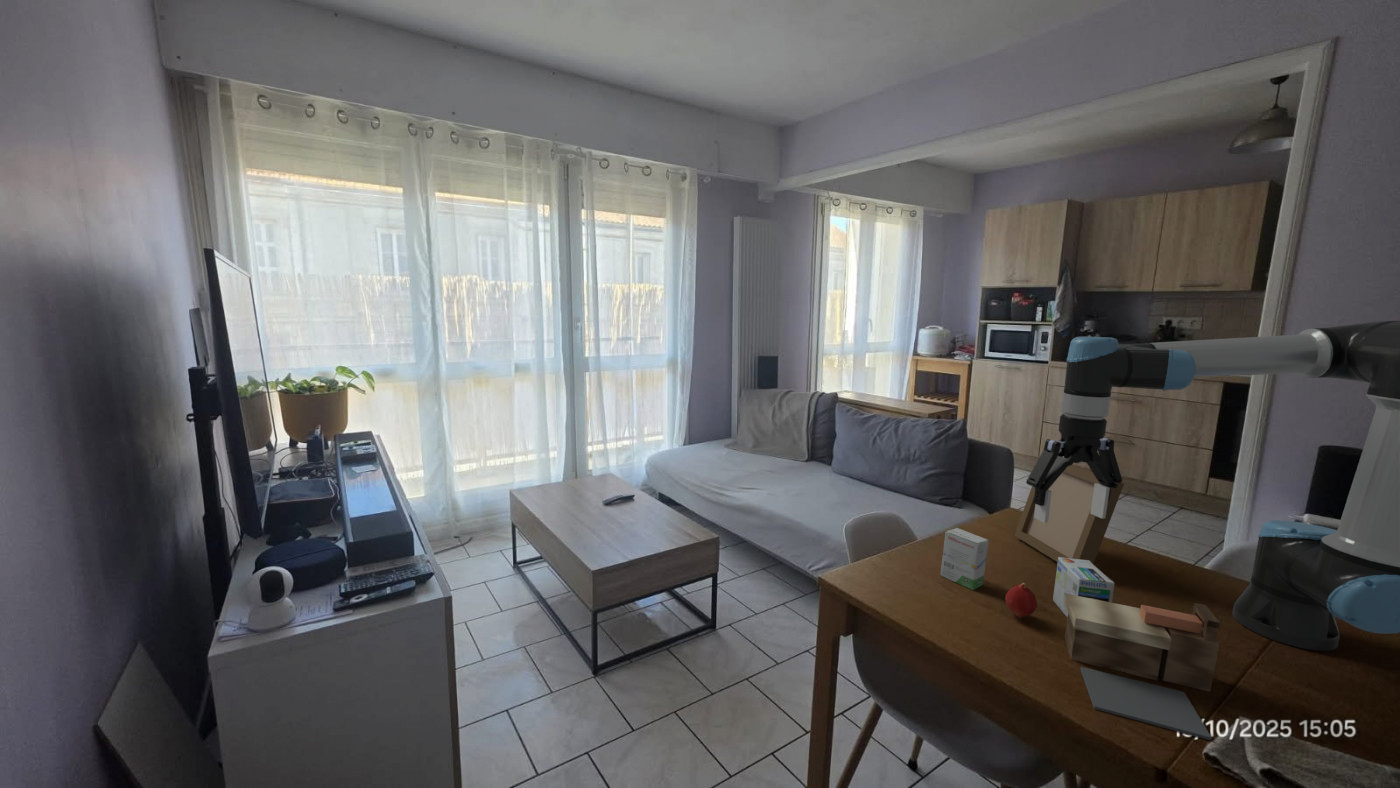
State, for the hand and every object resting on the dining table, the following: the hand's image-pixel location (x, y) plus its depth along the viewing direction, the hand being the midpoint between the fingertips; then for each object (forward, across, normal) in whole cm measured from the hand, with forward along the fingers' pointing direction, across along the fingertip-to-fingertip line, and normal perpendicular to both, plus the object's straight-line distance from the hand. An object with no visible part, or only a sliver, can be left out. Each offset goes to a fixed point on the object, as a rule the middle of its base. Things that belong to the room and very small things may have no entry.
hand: (1069, 518), depth 108 cm
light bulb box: (+24, -9, -3) cm, 26 cm away
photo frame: (+24, -31, -28) cm, 48 cm away
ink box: (+24, +7, -20) cm, 32 cm away
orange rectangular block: (+14, -8, +16) cm, 23 cm away
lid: (+17, -1, +11) cm, 20 cm away
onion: (+24, +5, -4) cm, 25 cm away
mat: (+24, +4, +21) cm, 32 cm away
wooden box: (+24, -4, +13) cm, 28 cm away
